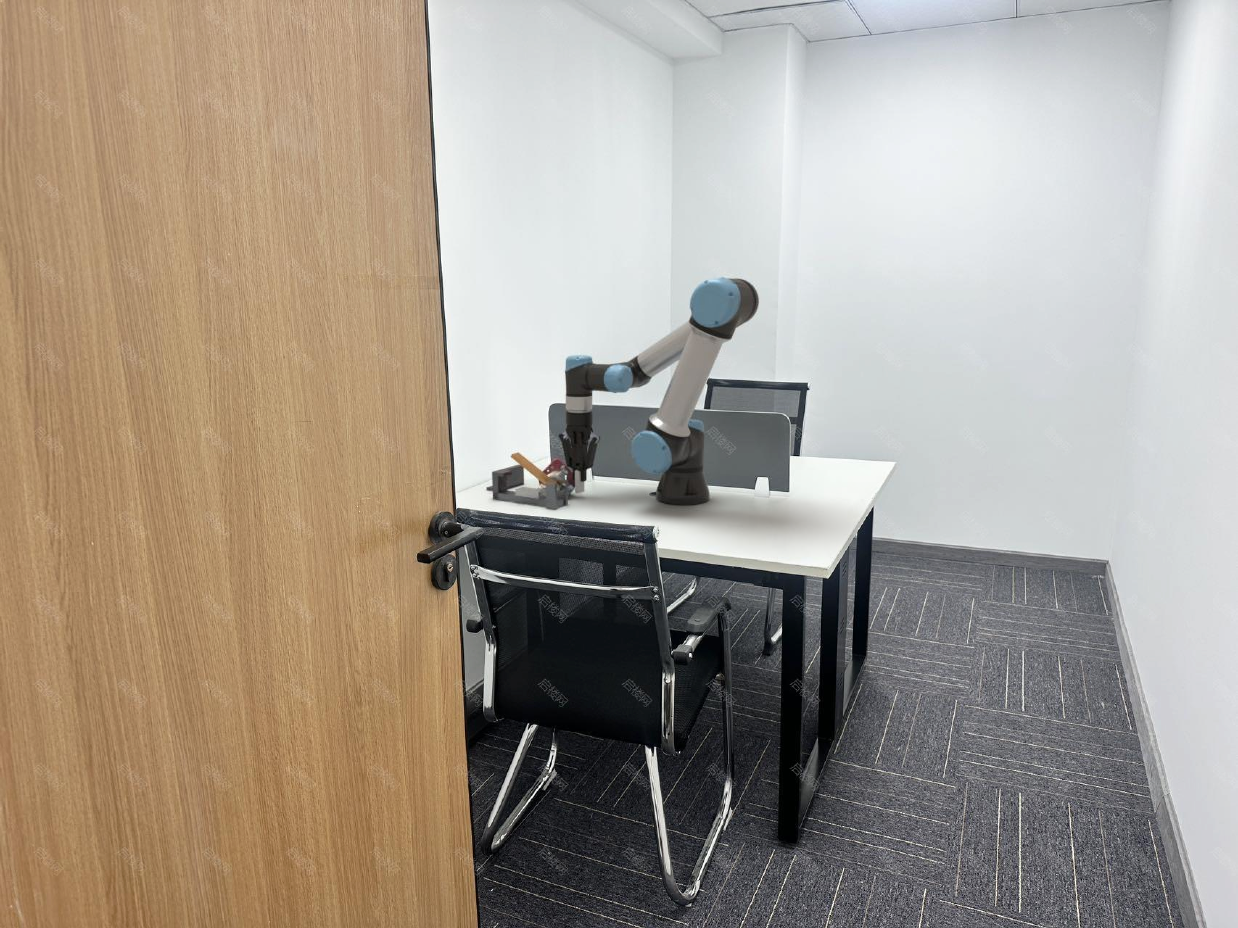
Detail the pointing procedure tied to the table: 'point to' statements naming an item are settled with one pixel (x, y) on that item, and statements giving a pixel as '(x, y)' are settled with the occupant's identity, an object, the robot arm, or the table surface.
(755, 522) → the table surface
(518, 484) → the bracket
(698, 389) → the robot arm
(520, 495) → the clip base
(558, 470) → the brake caliper
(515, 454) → the tan wooden flat bar
